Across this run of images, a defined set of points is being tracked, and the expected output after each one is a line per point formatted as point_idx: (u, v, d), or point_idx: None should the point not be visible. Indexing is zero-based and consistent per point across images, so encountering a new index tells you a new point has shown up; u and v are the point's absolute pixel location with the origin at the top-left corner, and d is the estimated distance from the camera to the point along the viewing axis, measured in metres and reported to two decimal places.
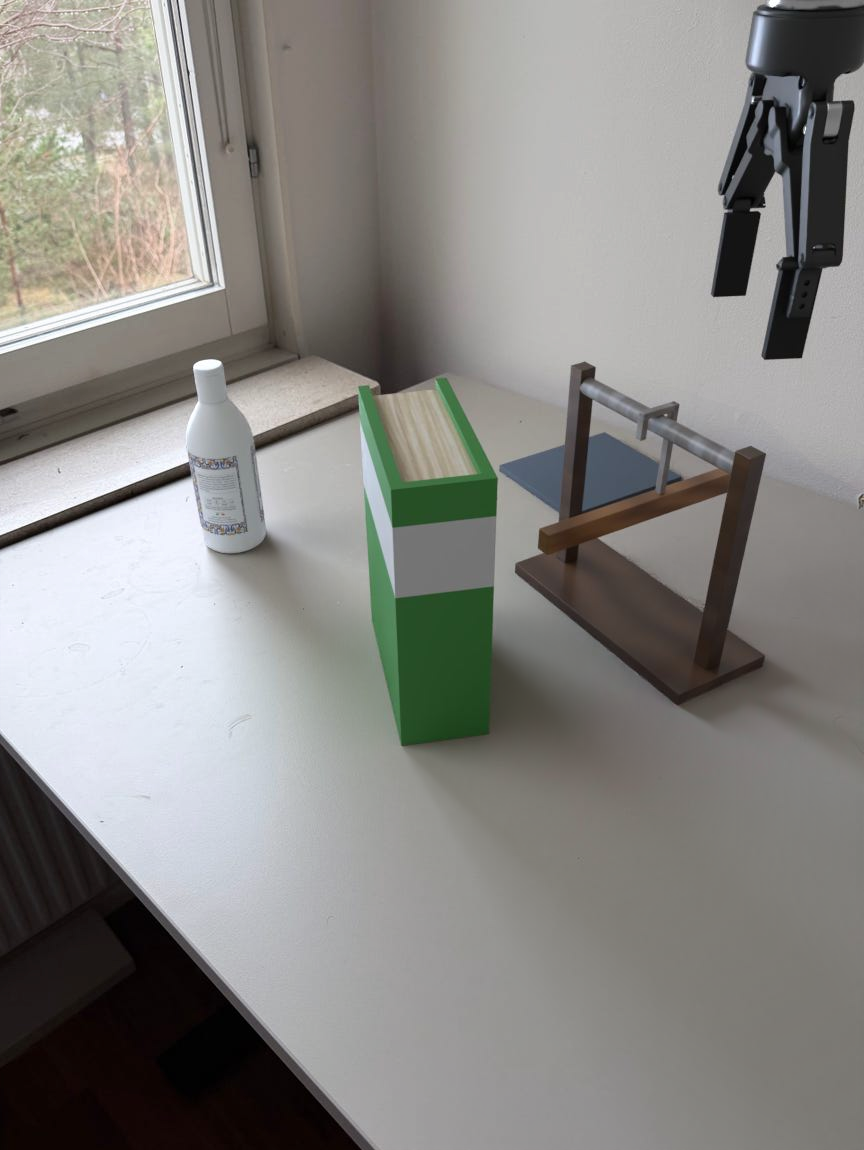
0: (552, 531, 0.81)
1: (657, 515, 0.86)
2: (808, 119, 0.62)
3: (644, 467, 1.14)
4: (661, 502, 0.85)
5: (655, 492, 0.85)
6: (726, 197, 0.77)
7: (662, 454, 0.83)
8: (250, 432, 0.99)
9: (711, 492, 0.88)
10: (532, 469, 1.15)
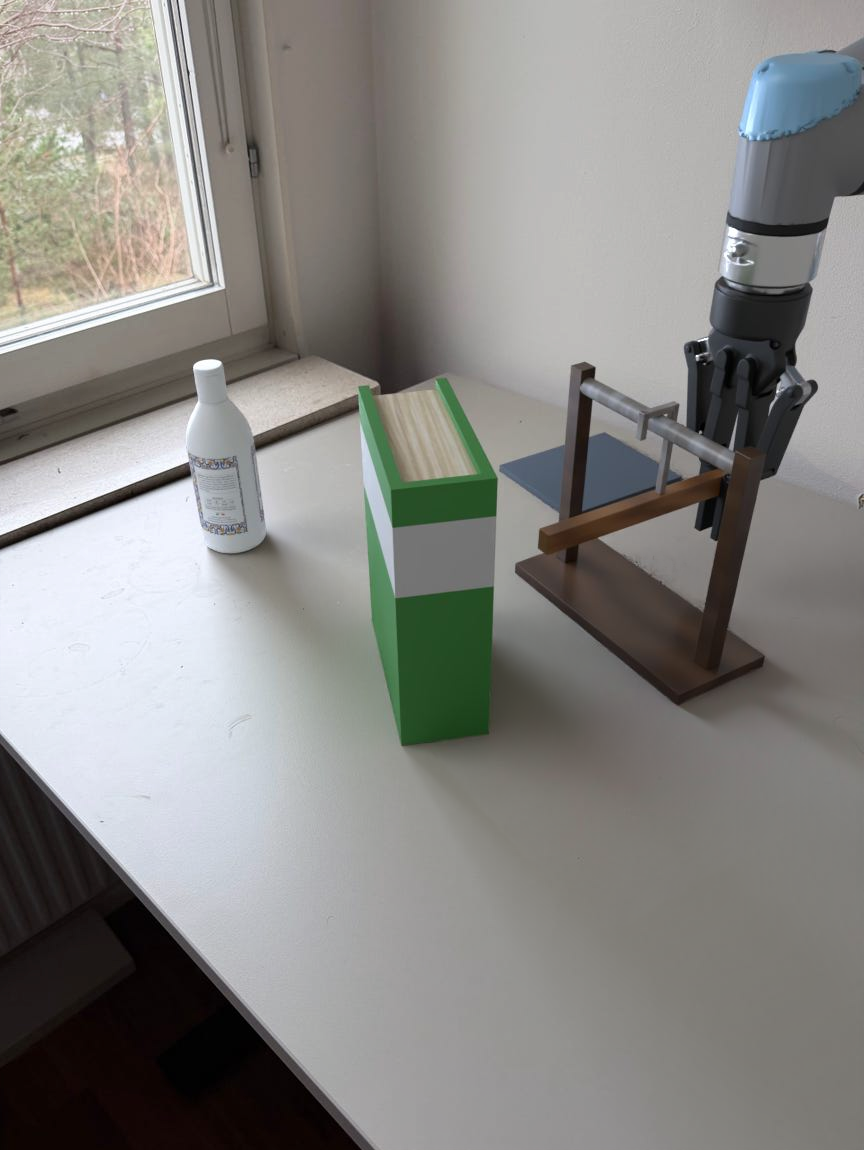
0: (552, 531, 0.81)
1: (657, 515, 0.86)
2: (785, 393, 0.78)
3: (644, 467, 1.14)
4: (661, 502, 0.85)
5: (655, 492, 0.85)
6: None
7: (662, 454, 0.83)
8: (250, 432, 0.99)
9: (711, 492, 0.88)
10: (532, 469, 1.15)
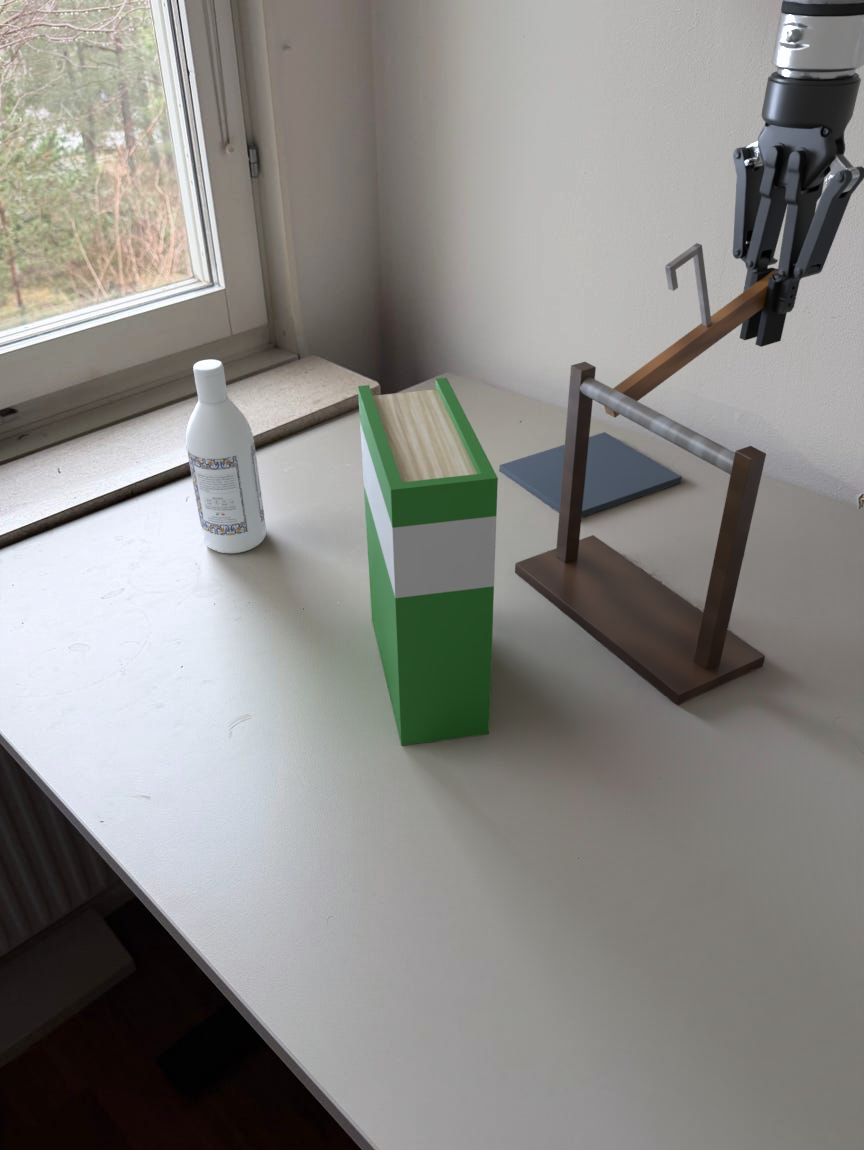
0: None
1: (709, 345, 0.93)
2: (835, 178, 0.84)
3: (644, 467, 1.14)
4: (710, 333, 0.92)
5: (702, 325, 0.93)
6: (749, 260, 0.94)
7: (699, 292, 0.90)
8: (250, 432, 0.99)
9: (757, 305, 0.94)
10: (532, 469, 1.15)
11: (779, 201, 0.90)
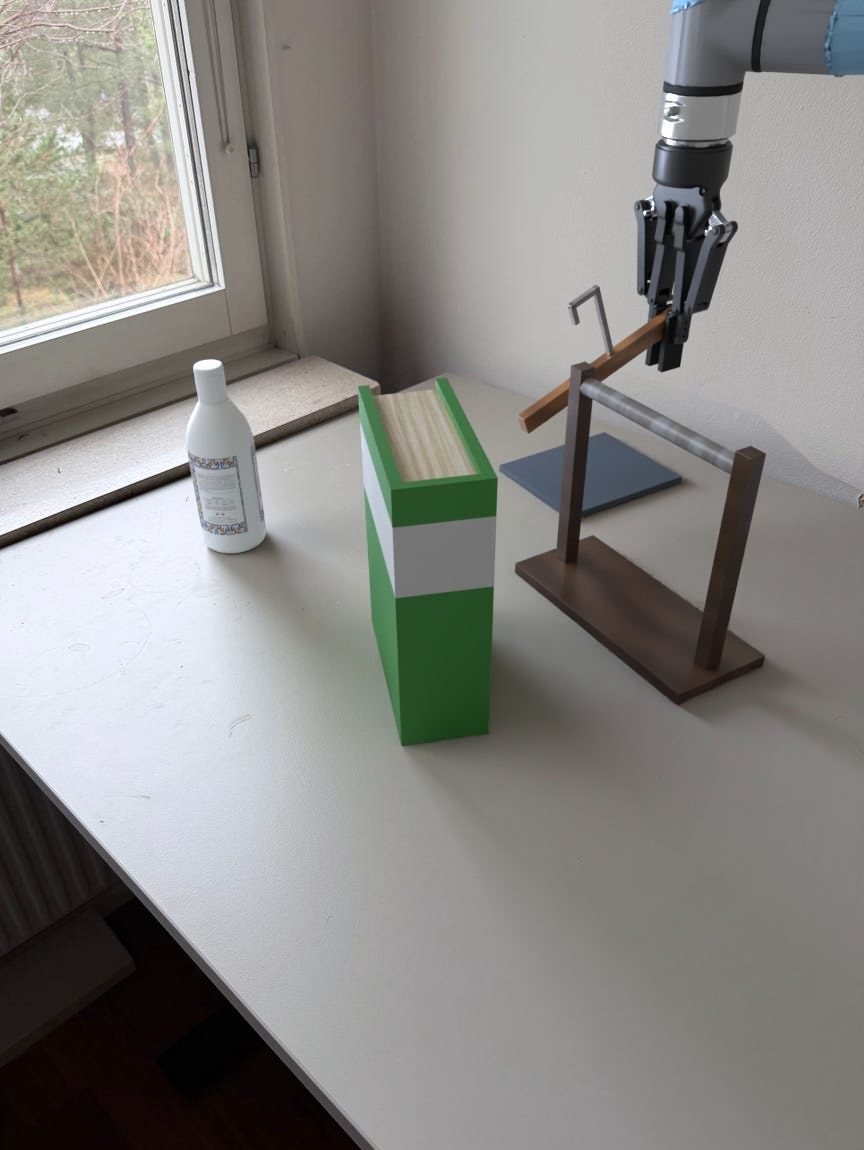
0: (527, 415, 1.05)
1: (613, 371, 1.07)
2: (711, 231, 0.97)
3: (644, 467, 1.14)
4: (612, 361, 1.06)
5: (606, 354, 1.06)
6: (650, 297, 1.08)
7: (600, 326, 1.04)
8: (250, 432, 0.99)
9: (656, 336, 1.07)
10: (532, 469, 1.15)
11: (672, 247, 1.04)
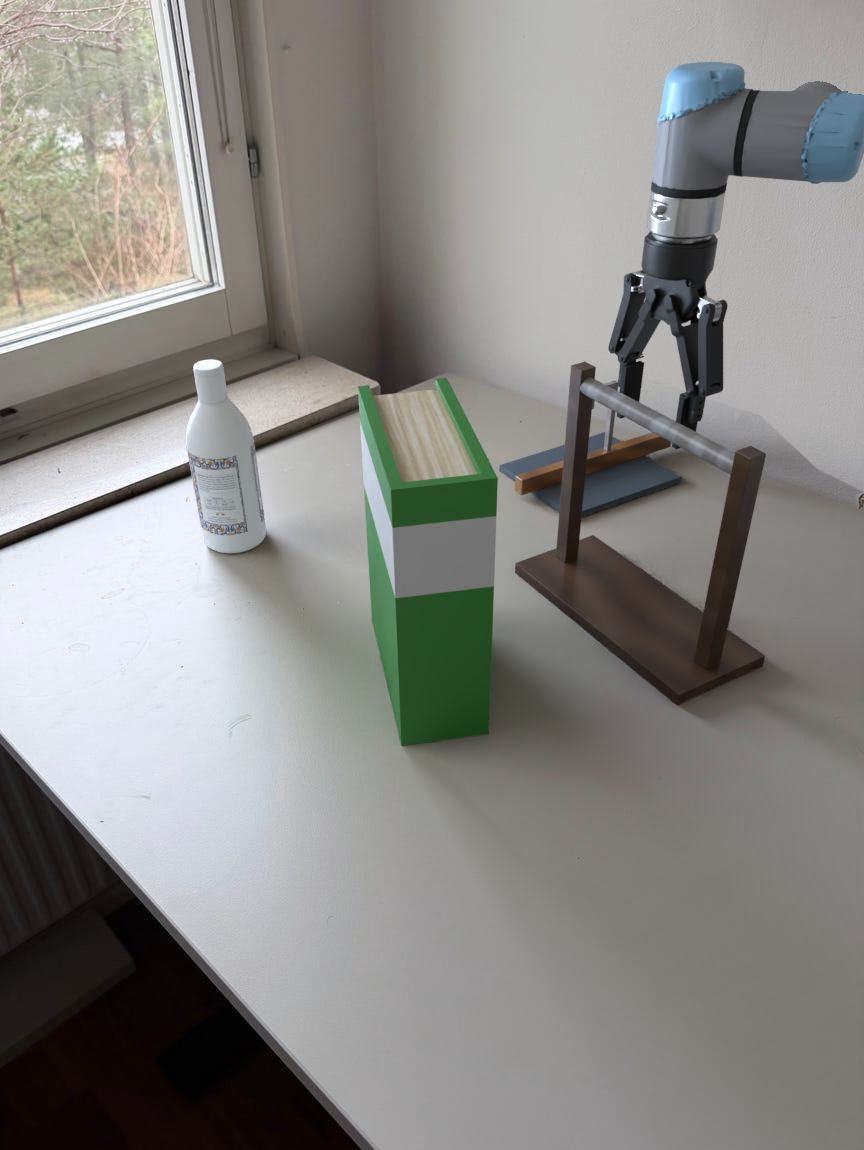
0: (525, 477, 1.10)
1: (605, 467, 1.14)
2: (702, 312, 1.02)
3: (644, 467, 1.14)
4: (608, 457, 1.14)
5: (604, 449, 1.14)
6: (621, 355, 1.15)
7: (607, 420, 1.12)
8: (250, 432, 0.99)
9: (647, 449, 1.16)
10: (532, 469, 1.15)
11: (651, 324, 1.11)
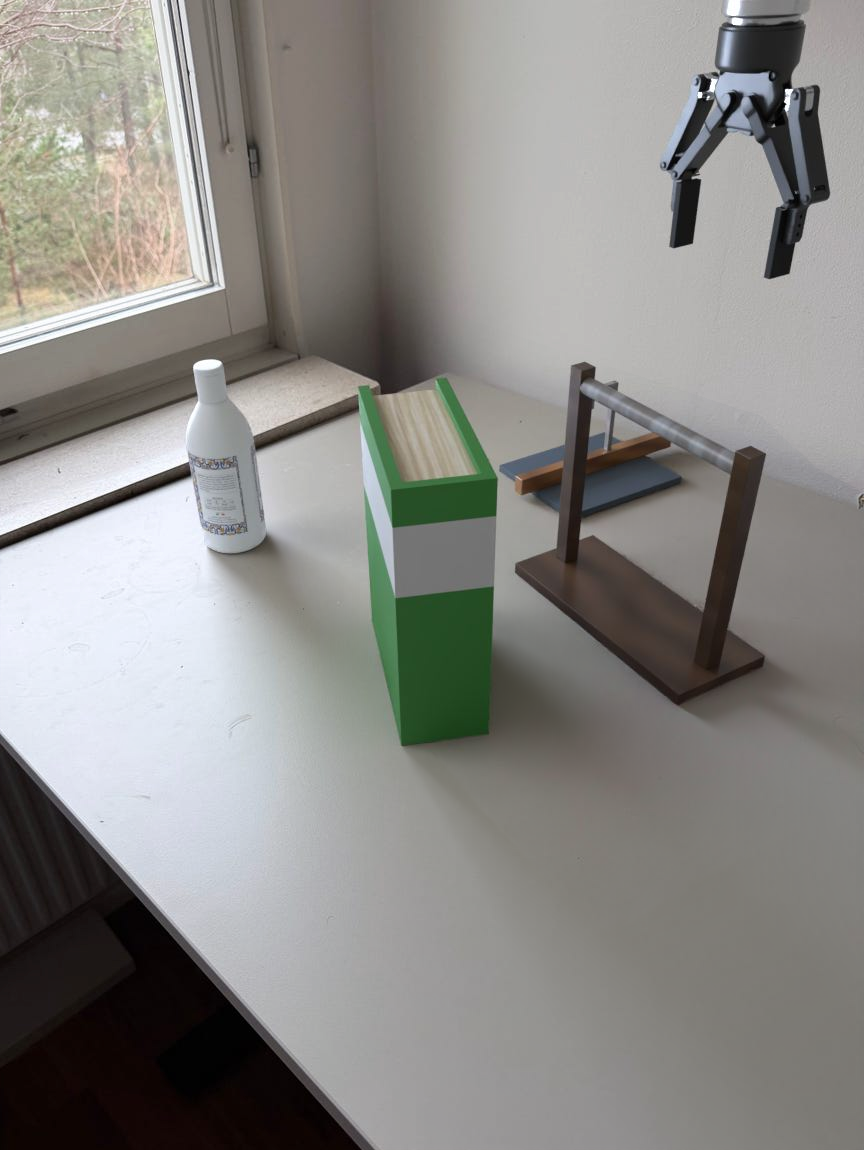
0: (525, 477, 1.10)
1: (605, 467, 1.14)
2: (791, 100, 0.87)
3: (644, 467, 1.14)
4: (608, 457, 1.14)
5: (604, 449, 1.14)
6: (675, 171, 1.01)
7: (607, 420, 1.12)
8: (250, 432, 0.99)
9: (647, 449, 1.16)
10: (532, 469, 1.15)
11: (717, 136, 0.97)
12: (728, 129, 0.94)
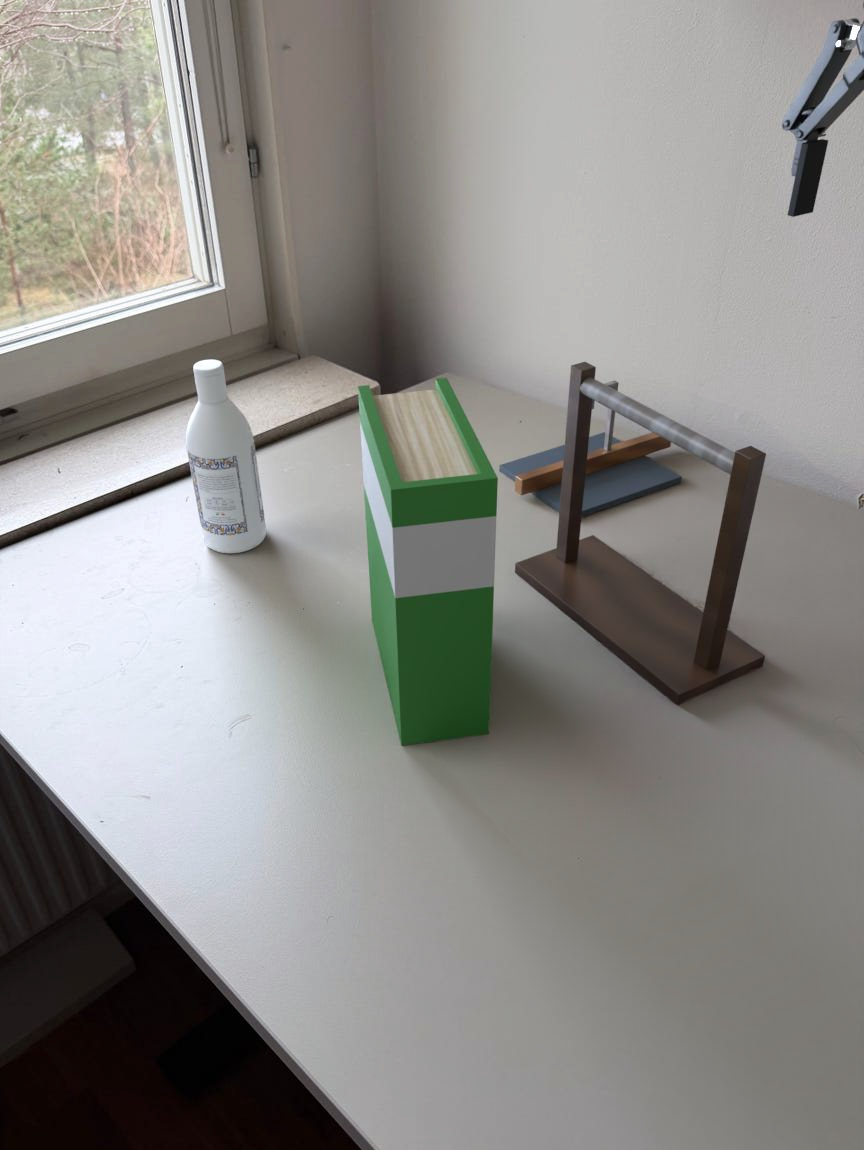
0: (525, 477, 1.10)
1: (605, 467, 1.14)
2: None
3: (644, 467, 1.14)
4: (608, 457, 1.14)
5: (604, 449, 1.14)
6: (801, 130, 0.92)
7: (607, 420, 1.12)
8: (250, 432, 0.99)
9: (647, 449, 1.16)
10: (532, 469, 1.15)
11: (855, 90, 0.87)
12: None
